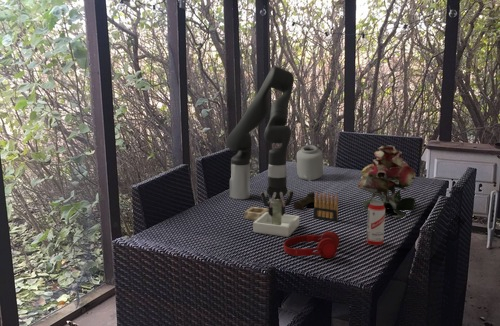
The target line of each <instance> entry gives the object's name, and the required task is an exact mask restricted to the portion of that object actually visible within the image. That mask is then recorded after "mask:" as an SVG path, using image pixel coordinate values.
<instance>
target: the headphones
mask: <svg viewBox="0 0 500 326" xmlns="http://www.w3.org/2000/svg"><path fill="white" fill-rule="evenodd" d="M311 242H315V243H317V242H318V243H317V247H309V248H293V247H289V246H293V245H295V244H300V243H311ZM339 245H340V237H339V235H338V234H337V233H336V232H334V231H330V230H328V231H325V232H323V233H322V234H303V235H297V236H294V237H290V238H288V239H286V240H285V241H284V242H283V251H284V253H285V254H287V255H289V256H295V257H307V256H308V257H310V256H320V257H322V258H323V259H331V258H333V257H335V255H336V254H337V252H338V247H339Z"/></svg>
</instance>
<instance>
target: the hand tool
mask: <svg viewBox="0 0 500 326" xmlns="http://www.w3.org/2000/svg"><path fill="white" fill-rule="evenodd" d="M315 196H316V194H315V192H314V191H312V192H311V191H310V192H309V193H307V194H306V196H305V197H304V198H301V199H299V200H298V201H294V203H293V209H294V210H298V211H300V210H302V209H303V208H304V207H306V206H308V204H311V203H314V202H315Z"/></svg>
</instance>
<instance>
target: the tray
mask: <svg viewBox="0 0 500 326" xmlns="http://www.w3.org/2000/svg"><path fill="white" fill-rule="evenodd" d="M300 219H301V218H300V215H293V214H292V215H291V214H286V213H285V214H284V215H283V216H282V222H281V225H273V224H272V216H270V215H269V213H268V212H265V213H264V214H263V215H262V216H261V217H259V218H258V219H257V220H254V221H253V222H252V229H253V230H252V232H253V233H256V234H264V235H272V236H279V237H286V238H289V237H290V236H292V234H293V233H294V232H295V231H296V230H297V228H299V226H300Z"/></svg>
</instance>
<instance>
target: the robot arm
mask: <svg viewBox="0 0 500 326" xmlns="http://www.w3.org/2000/svg"><path fill="white" fill-rule="evenodd" d="M294 81H295V76H294V74H293V73H292V72H290V71H288V70H286V69H284V68H281V67H279V66H273V67H272V68H271V69H270V70H269V71H268V74H267V75H266V77H265V79H264V81H263V83H262V84H261V87H260V88H259V90H258V92H257V94H256V95H255V97H254V98H253V100H252V102H250V104H249V106H248V107H247V109H246V111H245V113H244V114H243V116H242V117H241V118H240V119H239V121H238V123H237V124H236V125H235V127H234V128H233V129H232V130H231V132H230V133H229V135H228V136H227V139H226V146H227V147H228V149H229V150H230V151H232V152H237V153H236V154H235V155H233V156H232V157H231V159H230V172H231V173H230V176H231V177H230V178H229V198H231V199H234V200H247V199H249V198H250V196H251V195H250V194H251V193H250V191H251V190H250V189H251V188H250V187H251V185H250V181H251V180H250V179H251V177H250V176H251V175H250V170H251V169H250V163H251V162H250V161H251V158H252V147H253V143H252V137H251V133H250V132H251V131H253V130H254V129H256V128H258V127H259V126H260V125H261V124H262V123H263V122H264V121H265V119H267V117H268V114H269V113H270V114H269V115H270V116H269V120H268V123H267V125H266V127H265V129H264V133H263V138H264V140H265V142H267V143H268V144H281V146H279V147H276V148H272V149H269V151H268V166H267V189H266V190H264V191H263V190H262V191H260V193H259V194H260V196H261V199H262V201H263V204H264V206H265V207H268V208H267V209H268V213H269V215H270V216H273V208H272V206H273V203H274V200H276V199H280V200H281V202H282V216H283V215H284V214H286V207H287V206H290V205H291V202H292V199H293V197H294V194H295V193H294V191H293V190H289V189H287V177H288V176H287V175H288V174H287V173H288V172H287V170H288V168H287V154H288V153H287V152H288V146H289V144H290V141H291V137H292V130H291V128H290V126H288V125H287V124H288V123H287V122H288V111H289V103H290V100H291V96H292V91H293V86H294V84H295V83H294ZM270 89H274V90H276V91H278V92H281V93H282V94H281V96H279V97H278V98H277V99H276V100H275V101H273V103H272V104H271V108H270V100H269V99H270V98H269V92H270ZM267 194H268V196H269V201H267V198H266V197H267ZM286 194H287V198H286V201H285V196H286Z"/></svg>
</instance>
